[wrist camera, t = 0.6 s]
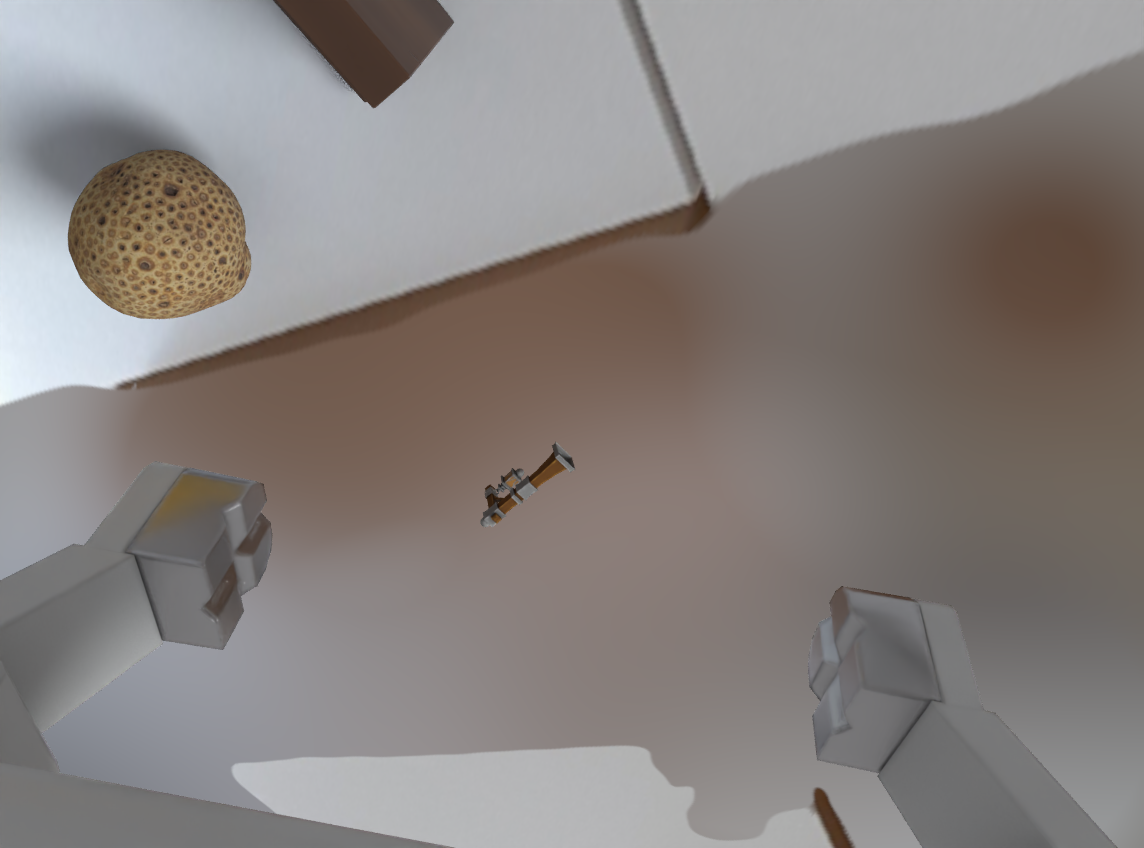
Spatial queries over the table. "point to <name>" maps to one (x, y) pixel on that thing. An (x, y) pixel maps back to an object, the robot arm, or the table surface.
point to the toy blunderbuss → (523, 485)
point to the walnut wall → (371, 38)
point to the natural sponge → (159, 236)
